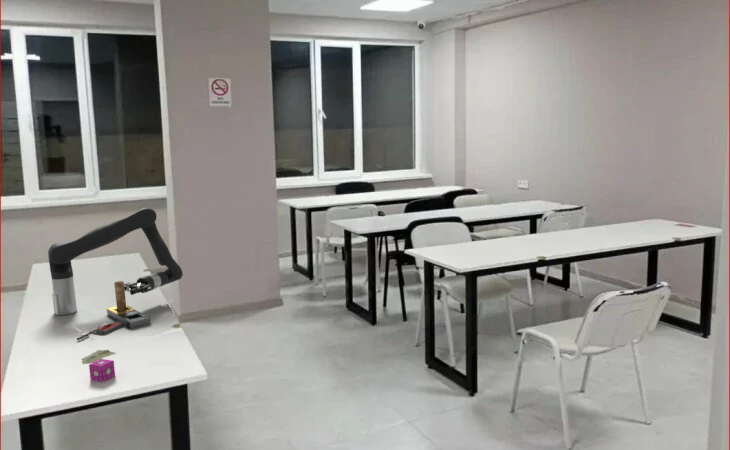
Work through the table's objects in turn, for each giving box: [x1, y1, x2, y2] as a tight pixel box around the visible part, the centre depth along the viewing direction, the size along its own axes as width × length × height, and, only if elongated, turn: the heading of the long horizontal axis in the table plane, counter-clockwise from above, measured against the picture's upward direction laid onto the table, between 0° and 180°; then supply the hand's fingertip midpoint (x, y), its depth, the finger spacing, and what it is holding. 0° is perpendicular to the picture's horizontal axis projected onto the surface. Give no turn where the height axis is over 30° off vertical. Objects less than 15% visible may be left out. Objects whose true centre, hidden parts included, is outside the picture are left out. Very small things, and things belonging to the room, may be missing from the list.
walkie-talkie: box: [76, 321, 124, 341], centre depth 259 cm, size 9×4×20 cm
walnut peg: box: [113, 280, 127, 312], centre depth 279 cm, size 4×4×16 cm
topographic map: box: [80, 349, 117, 365], centre depth 232 cm, size 14×14×2 cm
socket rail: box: [105, 304, 154, 331], centre depth 275 cm, size 11×28×4 cm, turn 42°
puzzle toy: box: [88, 358, 116, 383], centre depth 214 cm, size 6×6×6 cm
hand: (123, 291), depth 280 cm, fingers open, 8 cm apart
